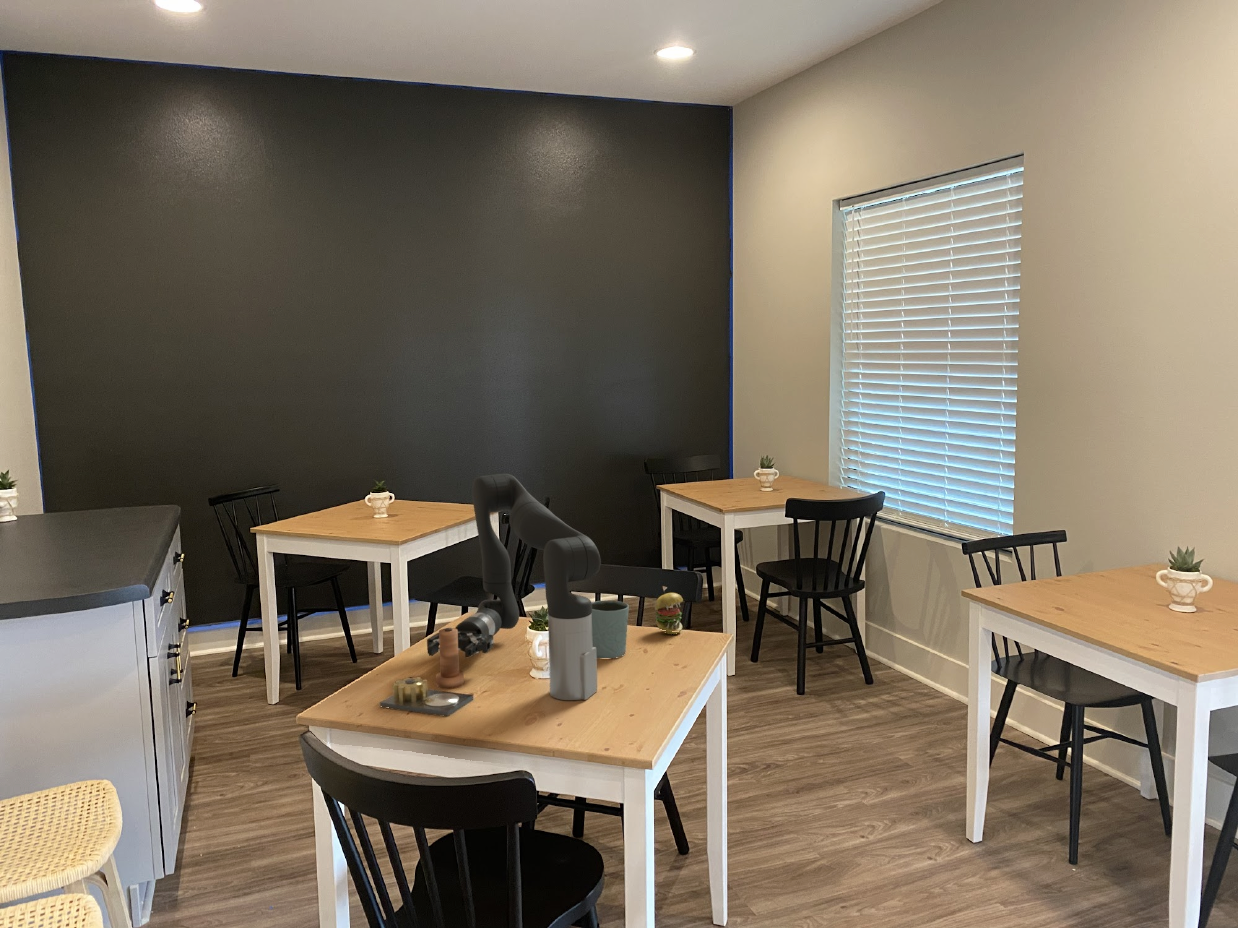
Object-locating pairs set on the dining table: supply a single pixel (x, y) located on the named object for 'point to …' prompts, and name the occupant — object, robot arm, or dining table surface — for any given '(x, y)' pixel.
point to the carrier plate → (432, 703)
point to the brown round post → (449, 660)
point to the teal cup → (609, 628)
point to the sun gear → (410, 689)
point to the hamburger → (668, 612)
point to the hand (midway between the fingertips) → (448, 652)
